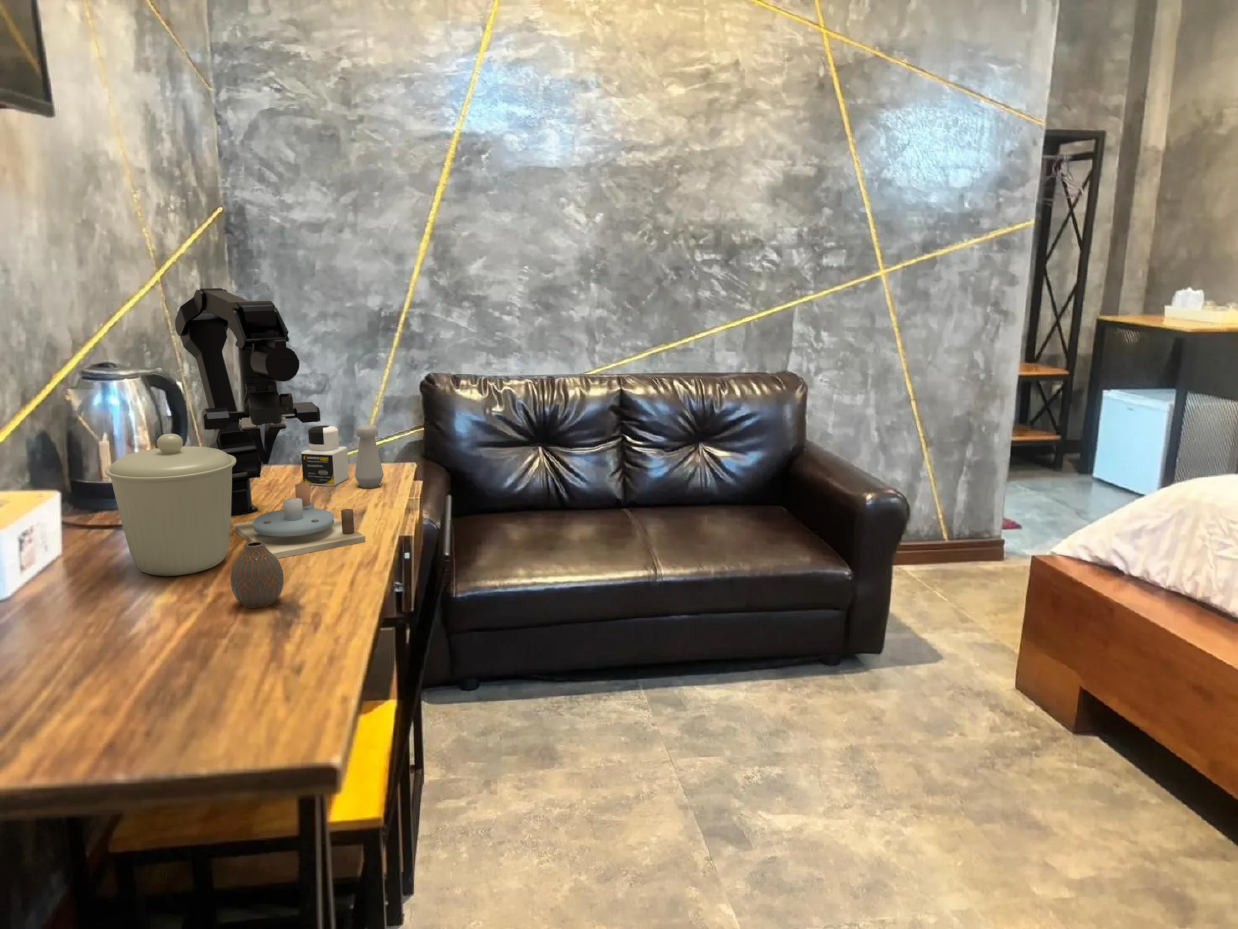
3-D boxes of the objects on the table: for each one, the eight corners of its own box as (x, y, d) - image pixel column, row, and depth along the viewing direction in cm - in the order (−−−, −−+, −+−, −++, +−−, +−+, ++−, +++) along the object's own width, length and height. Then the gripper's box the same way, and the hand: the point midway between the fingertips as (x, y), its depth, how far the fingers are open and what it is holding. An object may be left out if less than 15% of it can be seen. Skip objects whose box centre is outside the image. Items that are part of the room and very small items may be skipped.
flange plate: (327, 535, 150) (325, 506, 149) (245, 537, 148) (242, 508, 147) (342, 508, 166) (340, 481, 165) (268, 510, 164) (266, 483, 163)
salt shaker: (379, 489, 189) (376, 428, 186) (352, 489, 189) (348, 427, 186) (387, 482, 194) (384, 423, 192) (360, 482, 195) (357, 422, 192)
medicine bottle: (302, 484, 192) (298, 429, 189) (318, 476, 199) (315, 423, 196) (334, 486, 191) (330, 430, 188) (349, 478, 198) (346, 424, 195)
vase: (235, 615, 123) (229, 554, 121) (230, 598, 129) (225, 540, 127) (288, 607, 126) (284, 547, 124) (281, 591, 132) (277, 533, 130)
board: (233, 530, 161) (231, 502, 159) (322, 515, 170) (320, 489, 169) (269, 560, 145) (267, 530, 144) (365, 541, 155) (363, 513, 154)
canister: (99, 565, 142) (83, 433, 137) (215, 540, 155) (203, 418, 150) (144, 595, 130) (127, 452, 125) (265, 565, 143) (254, 434, 138)
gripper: (202, 384, 144) (211, 479, 148) (323, 378, 153) (329, 468, 156) (197, 375, 154) (205, 465, 157) (311, 370, 162) (317, 455, 166)
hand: (265, 463), depth 159 cm, fingers closed
